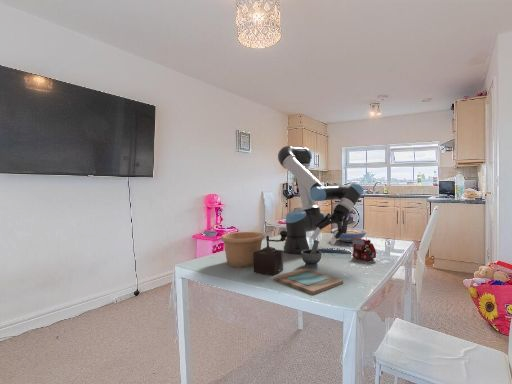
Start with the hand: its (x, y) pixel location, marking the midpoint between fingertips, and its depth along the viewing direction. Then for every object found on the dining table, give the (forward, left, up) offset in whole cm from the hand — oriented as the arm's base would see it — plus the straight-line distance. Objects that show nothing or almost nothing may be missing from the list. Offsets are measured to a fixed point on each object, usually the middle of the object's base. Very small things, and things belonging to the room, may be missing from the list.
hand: (321, 240), depth 149 cm
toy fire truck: (+9, +23, -12) cm, 27 cm away
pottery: (-28, -28, -12) cm, 41 cm away
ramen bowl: (-22, +55, -12) cm, 61 cm away
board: (+13, -25, -11) cm, 30 cm away
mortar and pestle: (-1, -6, -12) cm, 13 cm away
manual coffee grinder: (-9, -25, -12) cm, 29 cm away
